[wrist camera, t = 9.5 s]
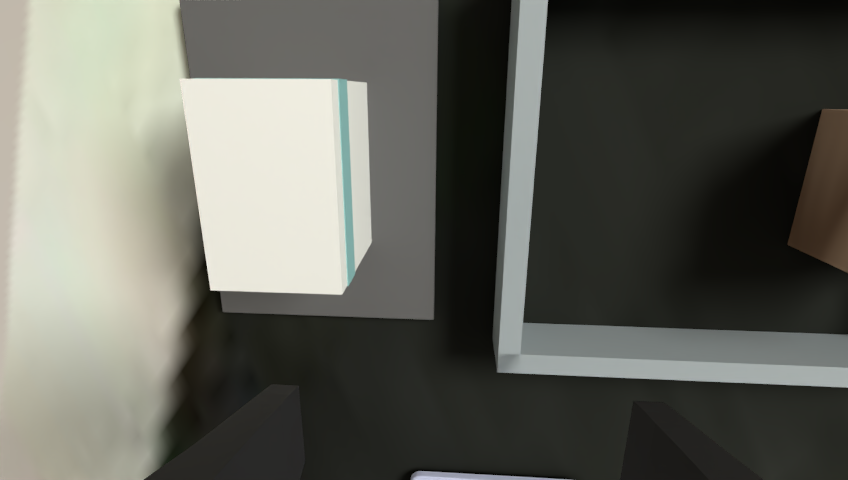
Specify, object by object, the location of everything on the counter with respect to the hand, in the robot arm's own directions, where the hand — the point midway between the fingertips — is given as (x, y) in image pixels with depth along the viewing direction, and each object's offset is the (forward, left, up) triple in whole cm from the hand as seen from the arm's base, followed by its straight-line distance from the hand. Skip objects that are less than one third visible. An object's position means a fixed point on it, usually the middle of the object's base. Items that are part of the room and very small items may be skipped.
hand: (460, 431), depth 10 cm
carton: (+4, +6, -9) cm, 11 cm away
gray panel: (+4, +6, -9) cm, 12 cm away
